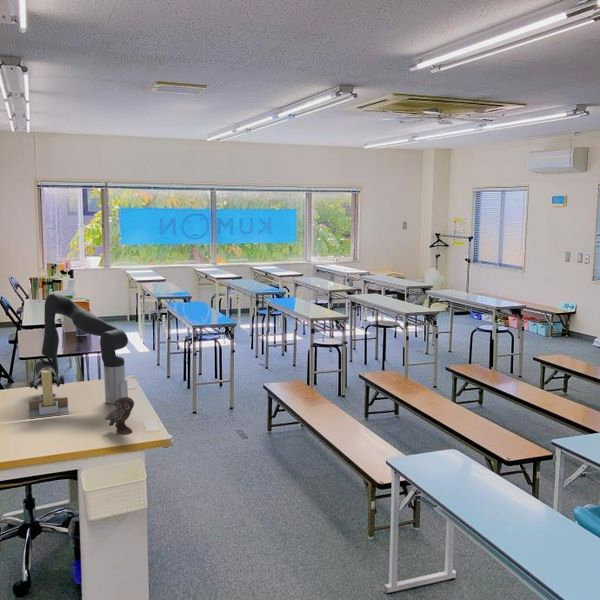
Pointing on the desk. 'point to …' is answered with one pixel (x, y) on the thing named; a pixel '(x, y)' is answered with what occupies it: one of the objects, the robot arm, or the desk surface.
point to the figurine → (121, 415)
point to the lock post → (47, 388)
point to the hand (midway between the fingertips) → (47, 386)
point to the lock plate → (39, 410)
